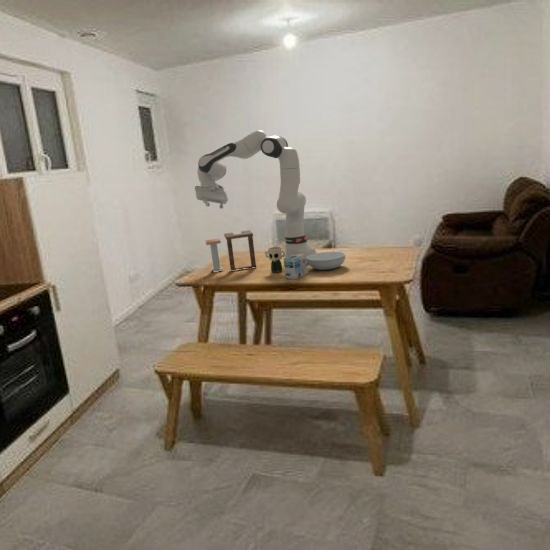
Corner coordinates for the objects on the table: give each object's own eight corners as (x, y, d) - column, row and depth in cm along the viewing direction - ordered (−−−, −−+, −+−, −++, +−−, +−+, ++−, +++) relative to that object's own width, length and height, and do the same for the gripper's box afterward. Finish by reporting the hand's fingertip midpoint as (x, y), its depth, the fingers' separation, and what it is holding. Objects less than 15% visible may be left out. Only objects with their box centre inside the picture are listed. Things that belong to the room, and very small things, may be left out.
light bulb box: (295, 279, 245) (293, 258, 242) (284, 278, 249) (282, 258, 246) (307, 274, 253) (305, 253, 250) (296, 273, 257) (294, 253, 254)
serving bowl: (348, 262, 268) (347, 250, 266) (343, 272, 248) (342, 259, 247) (311, 264, 274) (310, 252, 272) (303, 273, 254) (302, 261, 253)
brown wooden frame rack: (228, 267, 289) (224, 233, 284) (253, 263, 291) (249, 230, 286) (230, 272, 276) (226, 237, 271) (257, 268, 278) (252, 233, 273)
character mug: (265, 273, 264) (262, 249, 261) (269, 270, 271) (266, 247, 267) (284, 272, 261) (282, 248, 258) (288, 269, 267) (285, 246, 264)
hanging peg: (209, 270, 285) (205, 240, 281) (223, 268, 287) (219, 238, 282) (210, 273, 278) (206, 242, 273) (224, 271, 279) (220, 240, 275)
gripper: (196, 181, 283) (202, 201, 277) (226, 187, 296) (231, 206, 291) (191, 188, 287) (197, 207, 282) (220, 193, 300) (226, 212, 295)
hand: (215, 206), depth 286 cm, fingers open, 8 cm apart
